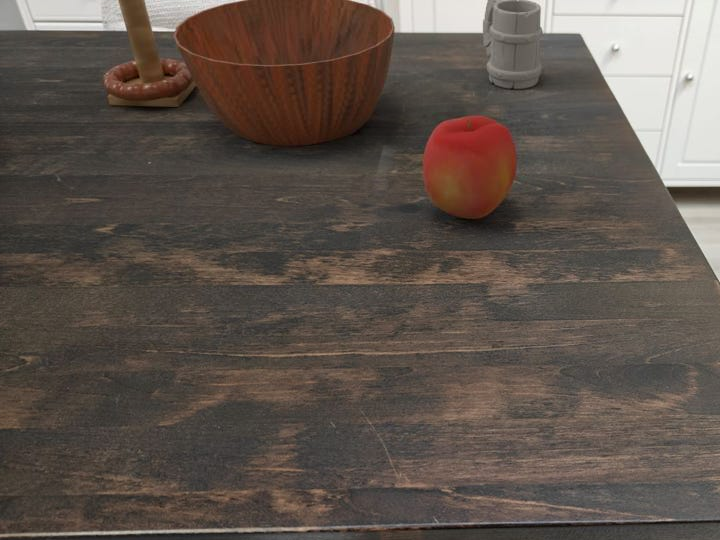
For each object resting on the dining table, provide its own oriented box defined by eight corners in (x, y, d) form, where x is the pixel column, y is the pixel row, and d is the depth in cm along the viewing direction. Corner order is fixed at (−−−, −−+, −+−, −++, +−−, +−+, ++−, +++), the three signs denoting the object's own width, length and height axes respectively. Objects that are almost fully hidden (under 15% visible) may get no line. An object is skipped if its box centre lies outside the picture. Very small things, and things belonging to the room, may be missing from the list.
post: (109, 105, 96) (66, -32, 86) (135, 79, 103) (98, -51, 92) (178, 107, 96) (144, -30, 86) (200, 81, 103) (170, -49, 92)
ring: (92, 101, 94) (87, 86, 93) (125, 70, 102) (120, 55, 101) (179, 104, 94) (175, 88, 93) (204, 72, 102) (201, 57, 101)
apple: (533, 213, 78) (540, 121, 71) (468, 247, 73) (470, 152, 66) (468, 181, 83) (470, 92, 76) (404, 211, 78) (399, 119, 71)
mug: (505, 94, 102) (509, 0, 94) (462, 66, 109) (463, -23, 101) (551, 84, 105) (558, -8, 97) (506, 57, 112) (510, -30, 104)
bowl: (193, 94, 99) (171, 3, 92) (376, 76, 106) (370, -11, 98) (201, 180, 82) (175, 76, 74) (421, 153, 88) (418, 54, 80)
